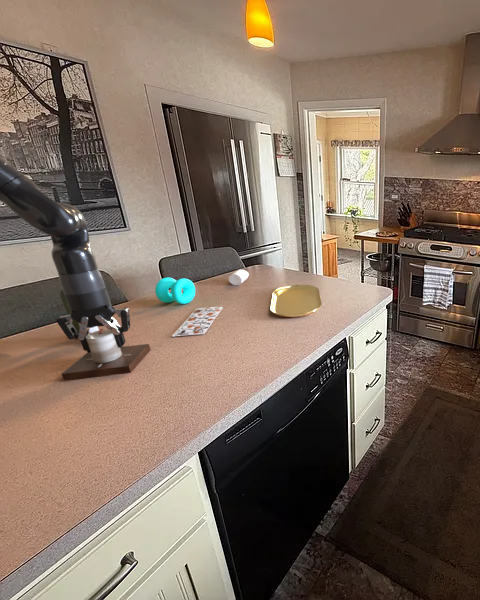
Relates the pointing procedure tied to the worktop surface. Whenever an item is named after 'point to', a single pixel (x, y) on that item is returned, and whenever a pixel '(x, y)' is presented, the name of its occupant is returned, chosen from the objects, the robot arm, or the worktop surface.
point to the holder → (107, 364)
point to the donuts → (175, 290)
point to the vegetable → (69, 310)
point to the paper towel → (198, 321)
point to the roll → (238, 277)
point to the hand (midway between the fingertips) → (106, 348)
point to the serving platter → (295, 300)
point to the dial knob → (103, 346)
